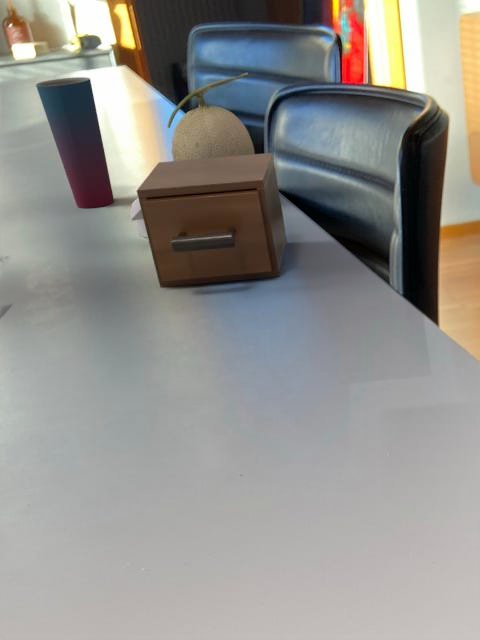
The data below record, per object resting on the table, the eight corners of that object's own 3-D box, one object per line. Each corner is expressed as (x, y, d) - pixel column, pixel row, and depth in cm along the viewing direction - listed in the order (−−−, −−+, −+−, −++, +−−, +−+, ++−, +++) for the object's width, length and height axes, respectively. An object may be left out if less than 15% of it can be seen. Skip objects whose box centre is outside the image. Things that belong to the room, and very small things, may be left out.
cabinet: (279, 276, 108) (262, 179, 102) (160, 287, 107) (136, 190, 101) (287, 242, 119) (272, 152, 113) (178, 251, 118) (158, 162, 112)
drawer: (268, 284, 103) (254, 202, 98) (155, 294, 102) (135, 212, 98) (279, 239, 116) (266, 166, 112) (179, 248, 116) (162, 175, 111)
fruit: (162, 207, 136) (133, 81, 128) (231, 189, 143) (208, 68, 134) (209, 217, 131) (181, 86, 122) (278, 197, 137) (257, 71, 128)
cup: (75, 199, 143) (42, 79, 135) (124, 195, 144) (94, 75, 135) (65, 211, 138) (29, 87, 129) (116, 207, 138) (84, 82, 130)
